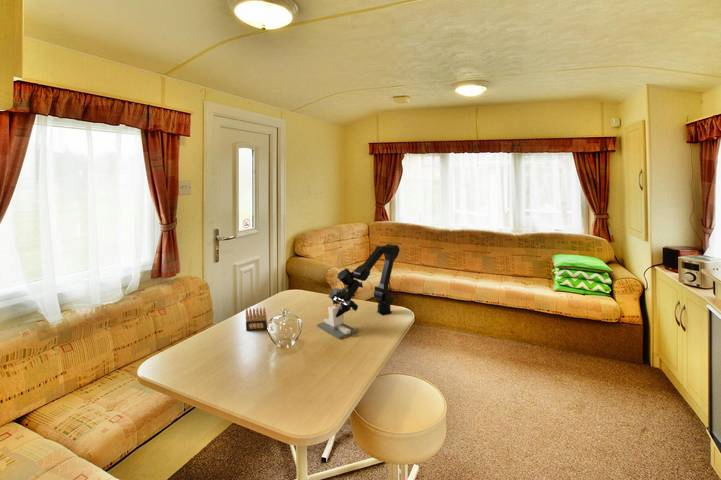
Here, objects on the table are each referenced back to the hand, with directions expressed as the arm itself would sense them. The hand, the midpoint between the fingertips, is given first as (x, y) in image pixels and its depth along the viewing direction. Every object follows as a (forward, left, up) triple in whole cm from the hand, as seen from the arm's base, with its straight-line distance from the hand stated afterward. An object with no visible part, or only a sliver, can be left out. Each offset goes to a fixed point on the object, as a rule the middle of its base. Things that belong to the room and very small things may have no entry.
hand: (333, 315), depth 172 cm
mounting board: (-1, 0, -8) cm, 8 cm away
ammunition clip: (+34, -21, -8) cm, 41 cm away
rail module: (-1, 0, -6) cm, 7 cm away
